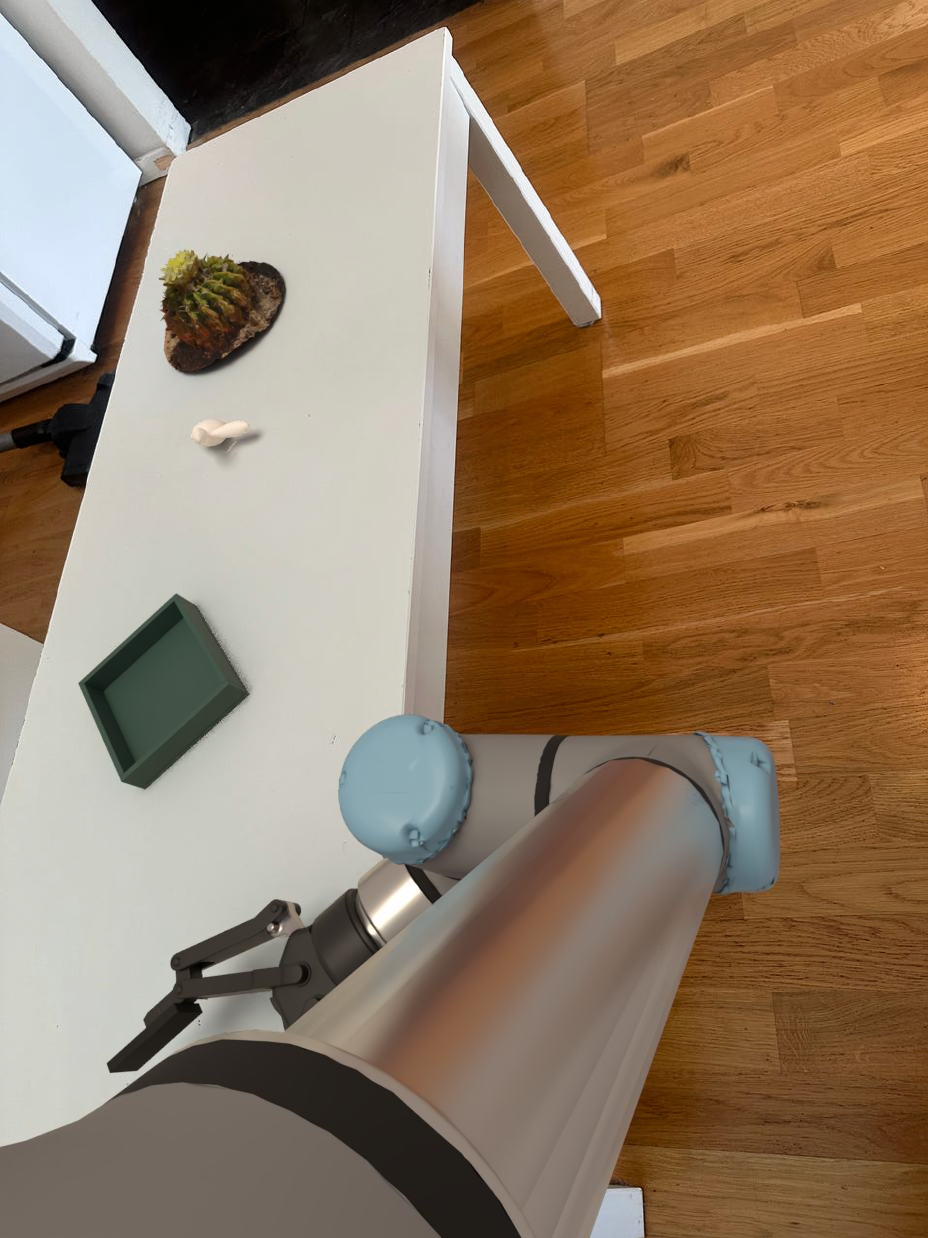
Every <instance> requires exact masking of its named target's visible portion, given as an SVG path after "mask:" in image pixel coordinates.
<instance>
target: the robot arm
mask: <svg viewBox="0 0 928 1238" xmlns="http://www.w3.org/2000/svg"><path fill="white" fill-rule="evenodd" d="M778 785H779V784H778V775H777V768H776V762H775V757H774V755H773V752H772V750H771V749H770V747H769V746H768V745H767V743H765V742H764V741H763V740H760V739H759V738H756V737H752V736H739V735H738V736H737V735H736V736H735V735H720V734H710V733H707V732H705V731H693V732H692V733H691V734H628V735H627V734H624V735H619V734H618V735H614V734H613V735H612V734H611V735H570V734H521V733H520V734H515V733H514V734H512V733H511V734H509V733H508V734H507V733H506V734H505V733H503V734H502V733H500V734H499V733H498V734H497V733H495V734H494V733H491V734H490V733H478V734H477V733H476V734H475V733H474V734H473V733H472V734H471V733H469V734H468V733H466V734H465V733H459V732H456V731H455V730H454V729H453V728H452V727H451V726H450V725H449V724H445V723H443V722H441V721H439V720H432V719H431V718H428V717H426V716H423V715H419V714H411V713H410V714H409V713H408V714H407V713H405V714H399V715H394V716H390V717H388V718H385V719H383V720H380V721H379V722H377V723H375V724H373V725H372V726H370V727H369V728H368V729H367V730H366V731H365V732H363V733H362V734H361V736H360V737H359V738H357V740H356V741H355V742H354V744H352V746H351V748H350V750H349V751H348V753H347V755H346V757H345V759H344V761H343V764H342V768H341V772H340V776H339V778H338V790H337V798H338V804H339V811H340V814H341V817H342V820H343V822H344V824H345V826H346V828H347V829H348V832H350V834H351V835H352V836H353V837H354V838H355V839H356V840H357V841H358V843H360V845H363V846H364V847H366V848H367V849H369V850H371V851H373V852H375V853H376V854H379V855H380V856H382V858H381V859H380V860H379V861H378V862H377V863H376V864H375V865H373V866H372V867H371V868H370V869H369V870H368V871H367V872H365V873H364V874H363V875H362V876H360V877H359V878H358V881H357V888H355V887H353V888H348V889H347V890H346V891H344V892H343V893H342V894H341V895H340V896H339V897H338V898H337V899H336V900H335V901H333V902H332V903H331V904H330V905H329V906H328V907H326V908H325V909H324V910H323V911H322V912H321V913H320V914H319V915H318V916H316V917H315V919H314V921H313V922H312V923H311V924H309V925H307V926H305V924H304V922H303V920H301V918H300V916H301V915H302V907H301V905H300V904H299V903H298V902H293V901H287V900H283V899H278V898H275V899H272V900H270V902H269V903H268V904H267V905H266V906H265V907H263V909H262V910H260V911H259V912H258V913H257V914H256V915H255V916H254V917H253V918H250V919H248V920H245V921H244V922H242V923H240V924H237V925H235V926H233V927H231V928H229V929H226V930H224V931H222V932H220V933H217V934H215V935H213V936H211V937H208V938H207V939H205V940H202V941H200V942H198V943H195V944H194V945H191V946H189V947H187V948H185V949H183V950H180V951H178V952H176V953H174V954H173V955H172V957H171V958H170V961H169V966H170V968H171V970H172V971H175V983H174V985H173V987H172V990H171V991H170V992H168V994H166V995H165V996H164V997H163V998H162V999H160V1000H159V1002H157V1004H155V1005H154V1006H153V1007H152V1008H150V1010H148V1011H147V1013H145V1016H144V1017H143V1019H142V1020H143V1023H144V1026H145V1028H144V1029H143V1030H141V1031H140V1032H139V1033H138V1034H137V1035H136V1036H135V1037H134V1038H132V1040H130V1042H128V1043H127V1044H126V1045H124V1047H123V1048H122V1049H120V1050H119V1051H118V1052H117V1053H116V1054H115V1055H114V1056H112V1057H111V1059H109V1060H108V1061H107V1062H106V1066H107V1070H108V1073H109V1074H117V1073H129V1072H138V1071H139V1070H141V1068H143V1066H145V1065H146V1064H147V1063H148V1062H149V1061H151V1059H153V1058H154V1057H155V1056H156V1055H157V1054H158V1053H159V1052H160V1051H162V1050H163V1049H164V1048H165V1047H166V1046H167V1045H169V1044H170V1042H172V1041H173V1040H174V1039H175V1038H176V1037H177V1036H179V1034H180V1033H182V1032H183V1031H184V1030H185V1029H186V1028H187V1027H189V1026H190V1025H191V1024H192V1023H193V1022H194V1021H195V1020H196V1019H197V1018H198V1017H200V1016H201V1015H202V1014H203V1013H204V1012H203V1009H202V1007H201V1004H200V1003H199V1002H197V1001H198V1000H203V1001H204V1000H205V1001H207V1000H209V999H216V998H225V997H231V996H241V995H248V994H257V993H265V992H271V997H269V1001H270V1003H271V1005H272V1006H273V1009H274V1011H276V1013H278V1015H279V1017H281V1020H282V1021H281V1022H282V1025H283V1030H284V1031H273V1030H262V1029H245V1030H237V1031H236V1030H235V1031H224V1032H220V1033H218V1034H215V1035H211V1036H208V1037H204V1038H201V1039H198V1040H196V1041H194V1042H191V1043H190V1044H188V1045H186V1046H184V1047H181V1048H180V1049H177V1050H175V1051H174V1052H172V1053H171V1054H170V1055H168V1056H167V1057H165V1058H164V1059H162V1060H161V1061H159V1062H158V1063H157V1064H155V1065H154V1066H152V1067H151V1068H149V1069H148V1070H147V1071H146V1072H145V1073H143V1074H142V1075H140V1076H139V1077H138V1078H136V1079H135V1080H134V1081H132V1082H131V1083H130V1084H128V1085H127V1086H126V1087H124V1088H123V1089H121V1090H120V1091H119V1092H118V1093H116V1094H115V1095H114V1096H112V1097H111V1098H110V1099H108V1100H107V1101H105V1102H104V1103H103V1104H102V1105H100V1106H99V1107H97V1108H95V1109H94V1110H92V1111H90V1112H89V1113H87V1114H86V1115H84V1116H83V1117H81V1118H79V1119H78V1120H75V1121H73V1122H70V1123H68V1124H65V1125H62V1126H60V1127H57V1128H55V1129H52V1130H49V1131H47V1132H44V1133H42V1134H39V1135H36V1136H34V1137H31V1138H29V1139H26V1140H23V1141H18V1142H14V1143H10V1144H6V1145H3V1146H0V1238H591V1236H592V1233H593V1230H594V1228H595V1224H596V1221H597V1219H598V1216H599V1213H600V1210H601V1207H602V1206H603V1205H602V1204H603V1202H604V1199H605V1196H606V1193H607V1191H608V1187H609V1184H610V1182H611V1179H612V1176H613V1172H614V1171H615V1168H616V1165H617V1162H618V1159H619V1156H620V1154H621V1151H622V1148H623V1145H624V1142H625V1139H626V1136H627V1134H628V1131H629V1128H630V1125H631V1122H632V1120H633V1117H634V1114H635V1111H636V1108H637V1105H638V1102H639V1100H640V1097H641V1093H642V1092H643V1088H644V1085H645V1083H646V1080H647V1077H648V1074H649V1072H650V1068H651V1066H652V1063H653V1060H654V1057H655V1054H656V1052H657V1049H658V1046H659V1043H660V1040H661V1037H662V1035H663V1032H664V1029H665V1027H666V1023H667V1021H668V1017H669V1015H670V1012H671V1009H672V1006H673V1004H674V1000H675V998H676V995H677V992H678V989H679V986H680V984H681V981H682V978H683V976H684V972H685V969H686V966H687V964H688V961H689V958H690V956H691V952H692V949H693V947H694V944H695V941H696V938H697V935H698V932H699V930H700V927H701V924H702V921H703V918H704V916H705V913H706V911H707V907H708V904H709V902H710V899H711V896H712V893H713V894H714V895H721V896H725V895H726V896H728V895H730V894H731V893H762V892H764V891H769V890H770V889H771V888H772V887H774V885H775V884H776V882H777V880H778V878H779V874H780V867H781V866H780V864H781V821H780V799H779V798H780V797H779V786H778ZM276 938H278V939H285V938H287V940H286V942H285V945H284V949H283V952H282V954H281V958H280V960H279V963H278V965H277V966H272V967H271V966H270V967H264V968H256V969H252V970H248V971H241V972H233V973H226V974H218V975H210V976H203V971H206V969H209V968H212V967H214V966H216V965H218V964H220V963H223V962H225V961H227V960H230V959H231V958H234V957H236V956H239V955H241V954H243V953H245V952H247V951H250V950H252V949H254V948H256V947H259V946H260V945H263V944H265V943H268V942H270V941H272V940H274V939H276Z"/></svg>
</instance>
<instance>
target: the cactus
mask: <svg viewBox="0 0 928 1238" xmlns="http://www.w3.org/2000/svg"><path fill="white" fill-rule="evenodd" d="M174 254H175V256H174V258H173V257H170V258H168V260H167V263H165V264H163V265H164V266H166V267H162V268H160V269H159V270H160V272H163V276H161V277H158V280H159V281H164V282H163V283H162V286H163V287H166V289H165V288H164V291H162V294H164V295H163V299H162V300H161V301H160V303H161V305H160V307H162V308H161V309H159V311H160V312H162V313H163V314H164V315H162V317H161V319H160V321H164V322H165V330H164V331H165V333H164V335H165V336H164V343H163V352H164V356H165V358H166V361H167V362H168V364H169V365H170V366H171V367H173V369H175V370H177V371H179V372H180V373H183V372H193V371H196V370H197V371H198V370H201V369H204V368H205V367H208V366H210V365H212V364H213V362H214V361H215V360H222V359H223V358H225V357H226V356H228V355H229V353H231V352H232V351H234V350H235V349H237V348H238V347H239V346H243V343H244V342H247V341H248V340H249V339H250V338H255V336H256V334H255V333H260V332H262V331H264V330H266V328H267V327H268V326H270V324H271V320H272V319H273V317H274V316H275V314H276V313H277V311H278V309H279V305H280V304H281V301H283V299H282V298H283V293H284V292H285V283H284V281H283V278H282V275H281V272H280V271H279V269H277V268H276V267H274V265H272V264H270V263H267V262H265V261H262V262H258V261H255V260H253V261H252V260H249V261H243V260H241V261H240V260H239V261H238V262H235V261H234V260H233V259H231V258H229V257H230V253H227V254H226V256H225V257H224V258H223V256H222V255H219V256H217V255H210V256H209V255H208V254H209V253H208V251H207V252H206V254H205V255H204V256H203V258H199V256H198V254H196V253H195V250H192V249H191V250H189V249H187V250H186V248H184V249H183V250H178V253H177V252H174ZM233 255H234V254H231V257H233Z"/></svg>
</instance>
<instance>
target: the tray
mask: <svg viewBox="0 0 928 1238" xmlns="http://www.w3.org/2000/svg"><path fill="white" fill-rule="evenodd" d="M78 687H79V689H80V691H81V693H82V695H83V697H84V700H85V702H86V704H87V707H88V710H89V712H90V714H91V716H92V718H93V720H94V721H93V722H94V723H95V725H96V727H97V730H98V731H99V734H100V737H101V739H102V741H103V743H104V745H105V746H104V747H105V748H106V750H107V753H108V755H109V757H110V759H111V762H112V764H113V766H114V769H115V771H116V773H117V775H118V777H119V780H120V782H121V783H123V784H126V785H130V786H133V787H136V788H139V789H143V790H146V789H147V788H148V787H149V786H150V785H151V784H153V782H155V781H156V780H157V779H158V778H159V777H160V776H161V775H162V774H164V772H166V771H167V770H168V769H169V768H170V767H171V766H172V765H173V764H174V763H175V762H176V761H178V760H179V759H180V758H181V757H183V755H185V753H186V752H188V751H189V750H190V749H191V748H192V747H193V746H194V745H195V744H196V743H198V742H199V741H200V740H201V739H202V738H203V737H204V736H205V735H206V734H207V733H209V732H210V730H212V729H213V728H214V727H215V726H216V725H218V723H220V722H221V721H222V720H223V719H224V718H225V717H226V716H227V715H228V714H229V713H231V712H232V710H234V709H235V708H236V707H237V706H238V705H240V703H241V702H243V701H244V699H246V698H247V697H248V696H250V695H249V692H248V690H247V689H246V686H245V685H244V683H243V682H242V680H241V678H240V677H239V675H238V674H237V671H236V670H235V668H234V666H233V665H232V663H231V662H230V660H229V658H228V657H227V655H226V653H225V652H224V650H223V648H222V646H221V645H220V643H219V642H218V640H217V638H216V637H215V635H214V633H213V631H212V630H211V628H210V627H209V625H208V623H207V621H206V620H205V618H204V617H203V615H202V613H201V612H200V609H199V608H198V606H197V604H195V603H193V602H191V601H189V599H186V598H185V597H183V596H181V595H180V594H178V593H174V594H173V595H172V596H171V597H170V598H168V599H167V601H165V603H163V604H162V606H160V607H158V609H157V610H156V611H154V612H153V614H152V615H150V617H149V618H147V619H146V620H145V621H144V622H143V623H141V625H140V626H138V627H137V628H136V629H135V630H134V631H133V632H132V633H131V634H130V635H129V636H128V637H126V639H125V640H123V641H122V642H121V643H120V644H118V646H116V648H115V649H113V651H111V652H110V653H109V654H108V655H107V656H106V657H105V658H103V660H101V661H100V662H99V663H98V664H97V665H96V666H94V667H93V669H91V671H90V672H89V673H87V674H86V675H85V676H84V677H83V678H82V679H81V680H80V681H78Z"/></svg>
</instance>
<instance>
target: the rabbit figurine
mask: <svg viewBox="0 0 928 1238" xmlns="http://www.w3.org/2000/svg"><path fill="white" fill-rule="evenodd" d="M250 429H251V423H249V422H248V421H246V420H234V421H230V422H227V423H226V422H225V421H223V420H222V419H219V418H207V419H204V420H202V421H199V422H198V423H197V424H195V426H194V427H193V428H192V430H191V435H190V437H189V438H190V439H191V440H192V441H193V442H194V444H196V445H198V446H201V447H215V446H218V445H220V444H222V443H223V442H224V441H225V440H226V439H227V438H228V439H229V438H234V437H239V436H242V435H244V434H245V433H247V432H249V430H250ZM237 443H238V441H237V440H235V441H234V442H233V443H232V444H231V445H230V446H229V448H227V450H226V453H229V452H230V451H231V450H232V449H233V448H234V446H235V445H236V444H237Z"/></svg>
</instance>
